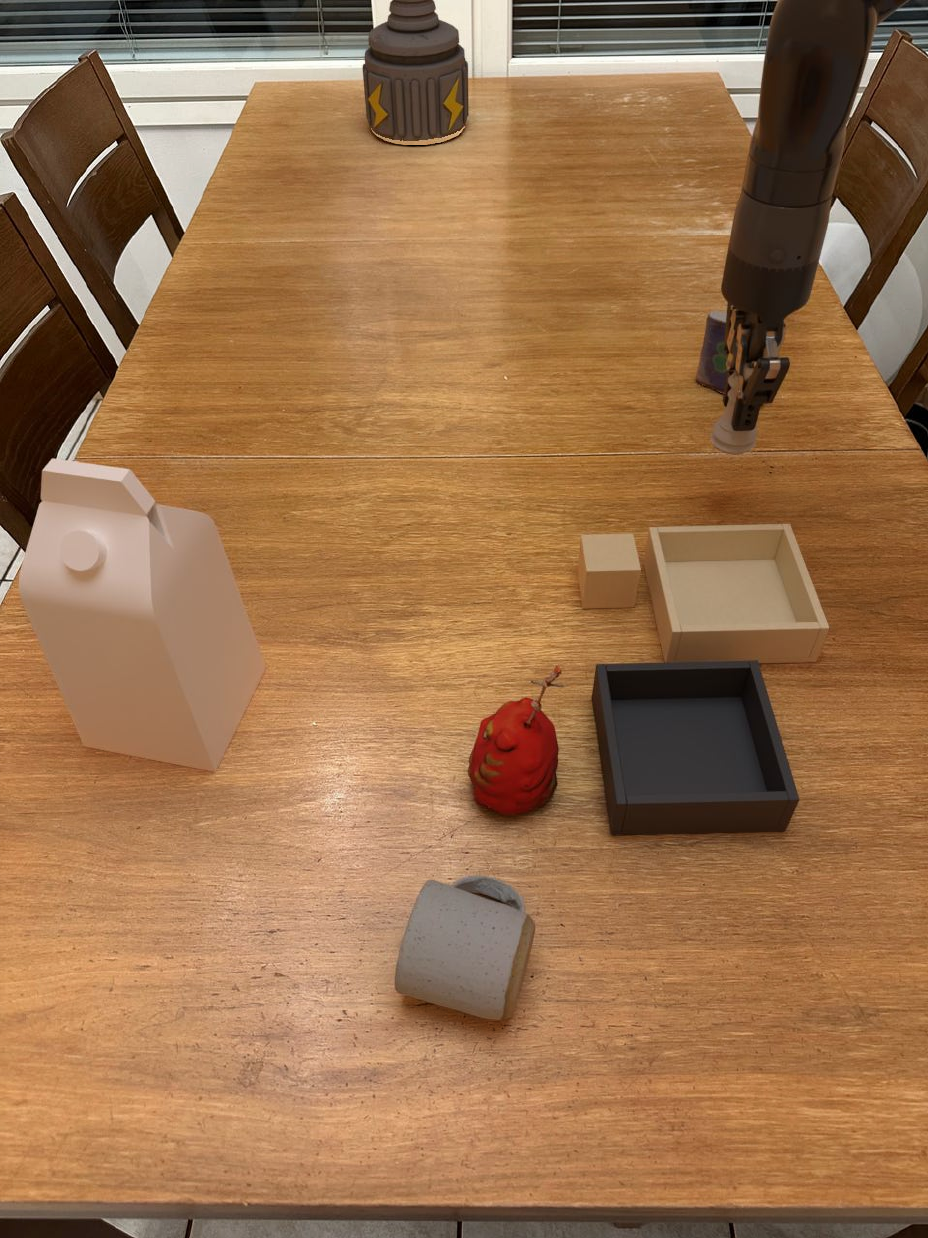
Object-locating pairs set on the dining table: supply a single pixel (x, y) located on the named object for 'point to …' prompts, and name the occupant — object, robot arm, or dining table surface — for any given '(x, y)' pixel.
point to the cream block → (608, 571)
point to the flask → (714, 353)
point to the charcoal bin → (690, 749)
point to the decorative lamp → (415, 75)
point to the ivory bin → (733, 594)
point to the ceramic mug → (466, 947)
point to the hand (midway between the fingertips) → (738, 415)
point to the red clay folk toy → (516, 756)
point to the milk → (138, 617)
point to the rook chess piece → (723, 431)
